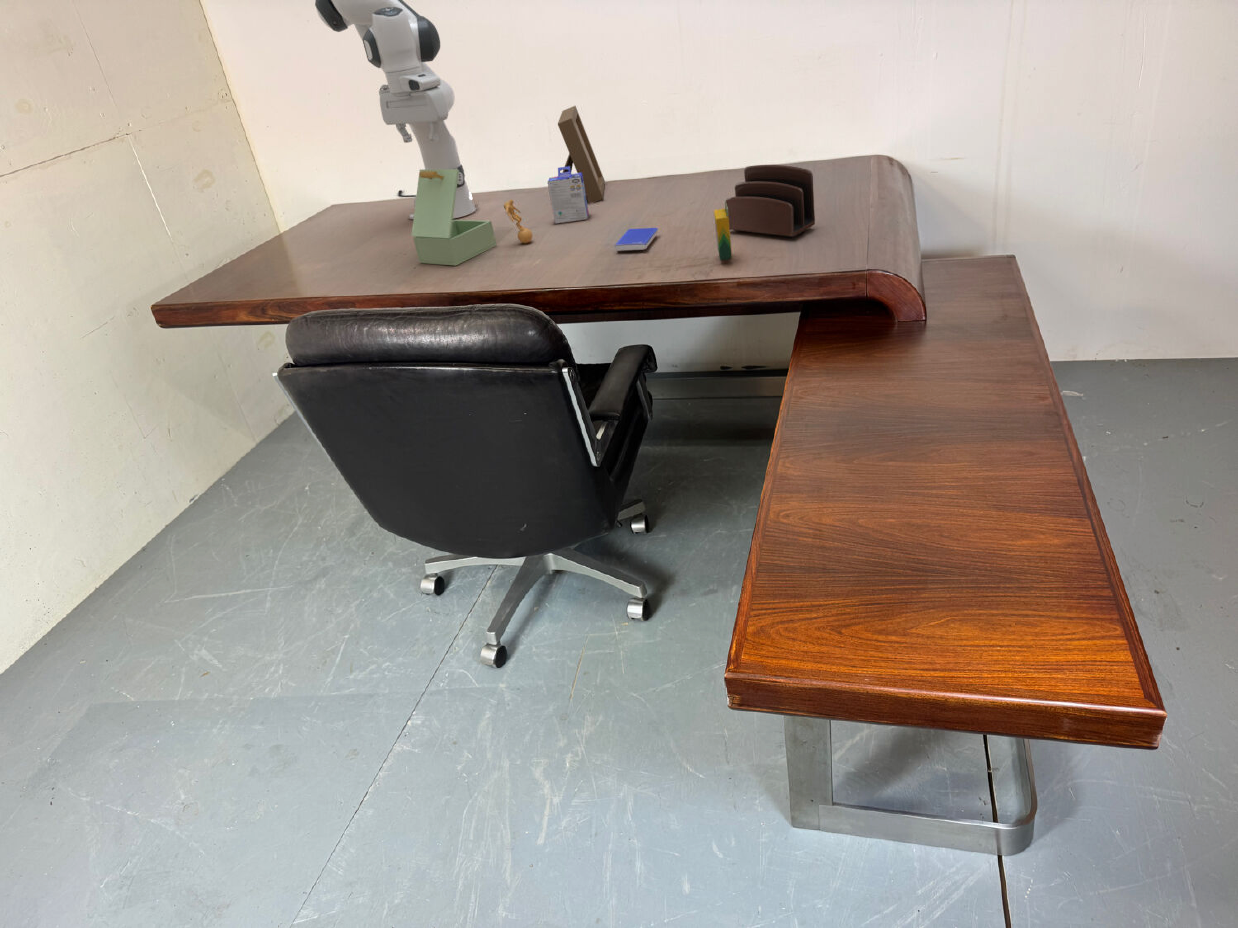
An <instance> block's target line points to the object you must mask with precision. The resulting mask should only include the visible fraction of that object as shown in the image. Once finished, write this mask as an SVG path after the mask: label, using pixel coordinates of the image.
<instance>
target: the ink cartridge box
mask: <svg viewBox="0 0 1238 928" xmlns="http://www.w3.org/2000/svg"><path fill="white" fill-rule="evenodd" d="M564 169H566V170H569V171H568V172H563V170H564ZM562 172H563V173H562ZM547 186H548V192H549V198H550V202H551V208H552V215H553V220H554V224H562V223H569V222H578V221H584V220H588V219H589V216H590V212H589V207H588V201H587V200H588V198H587V196H586V193H585V187H584V181H583V175H582V173H577V172H576V173H572V171H571V170H570V166H568V167H565V166H561V167H557V176H551V177H549V178H548V180H547Z"/></svg>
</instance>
